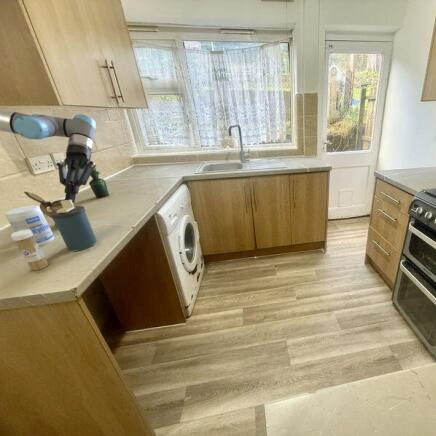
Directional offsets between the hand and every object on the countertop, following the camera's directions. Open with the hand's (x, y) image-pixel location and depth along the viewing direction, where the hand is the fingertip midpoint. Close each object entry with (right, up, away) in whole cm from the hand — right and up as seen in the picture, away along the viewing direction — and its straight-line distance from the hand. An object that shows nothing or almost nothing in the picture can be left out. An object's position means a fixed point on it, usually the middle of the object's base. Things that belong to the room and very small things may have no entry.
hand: (69, 201), depth 91 cm
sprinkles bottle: (-3, -23, -8) cm, 25 cm away
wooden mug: (-26, -10, +25) cm, 37 cm away
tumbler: (+1, -17, +5) cm, 18 cm away
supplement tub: (-20, -17, +8) cm, 27 cm away
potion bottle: (-36, +7, +63) cm, 73 cm away
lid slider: (+1, -4, -2) cm, 4 cm away
